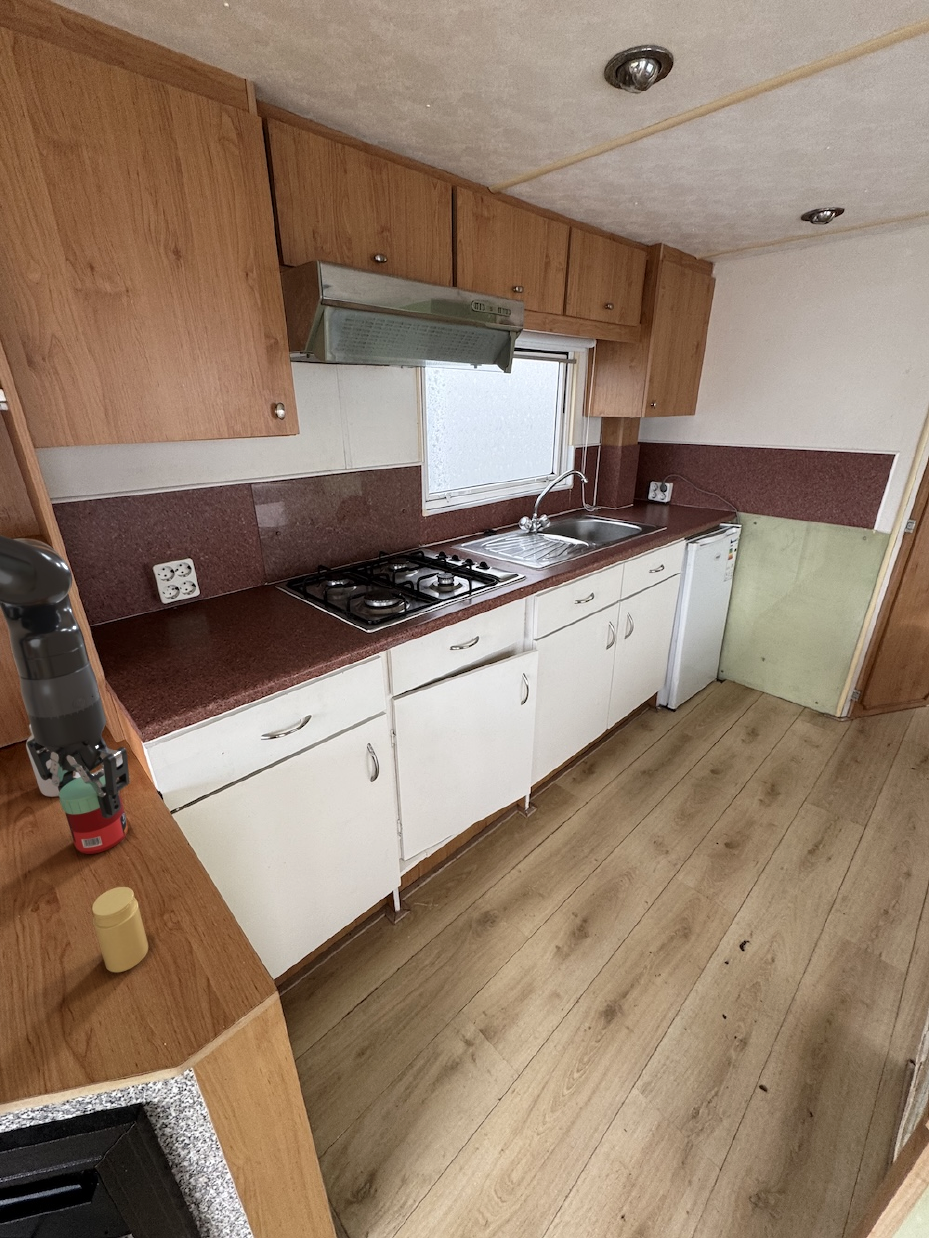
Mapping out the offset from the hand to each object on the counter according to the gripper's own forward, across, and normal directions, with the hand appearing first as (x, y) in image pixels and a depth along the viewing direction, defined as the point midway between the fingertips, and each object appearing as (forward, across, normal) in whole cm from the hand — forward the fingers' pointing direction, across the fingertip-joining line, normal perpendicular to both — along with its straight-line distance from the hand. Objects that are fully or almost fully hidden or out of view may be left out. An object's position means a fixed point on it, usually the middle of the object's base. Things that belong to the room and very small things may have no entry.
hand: (92, 809), depth 73 cm
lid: (-4, 0, 0) cm, 4 cm away
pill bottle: (+21, +38, -22) cm, 48 cm away
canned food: (+21, +17, -12) cm, 30 cm away
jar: (+21, -5, +4) cm, 22 cm away
